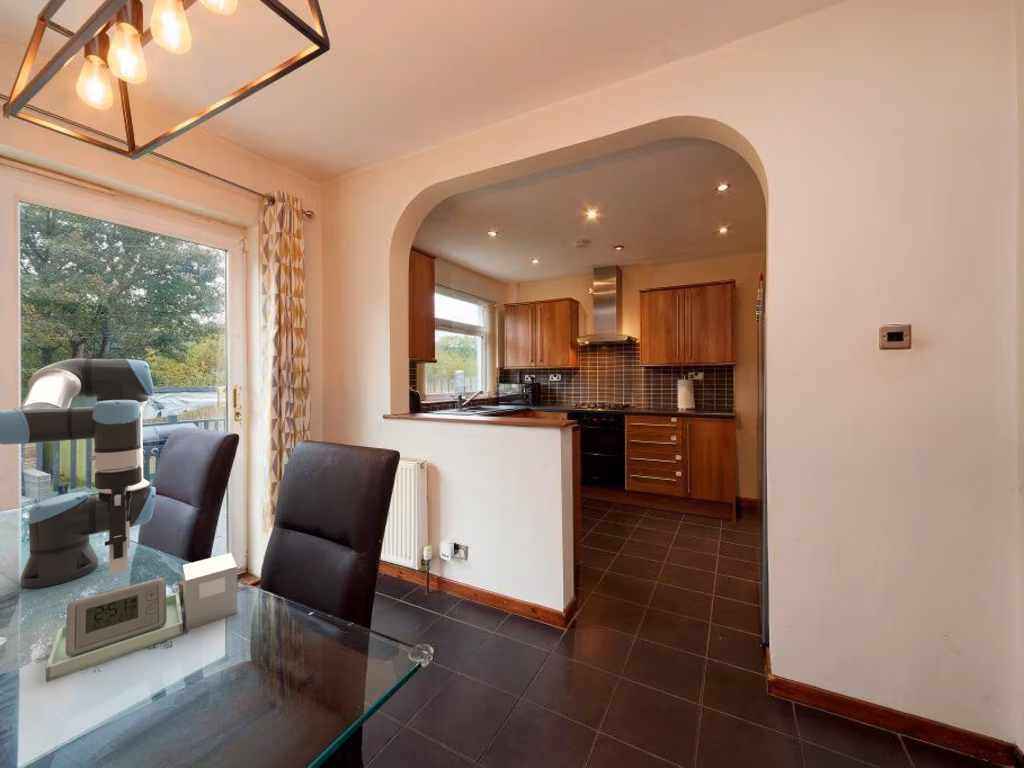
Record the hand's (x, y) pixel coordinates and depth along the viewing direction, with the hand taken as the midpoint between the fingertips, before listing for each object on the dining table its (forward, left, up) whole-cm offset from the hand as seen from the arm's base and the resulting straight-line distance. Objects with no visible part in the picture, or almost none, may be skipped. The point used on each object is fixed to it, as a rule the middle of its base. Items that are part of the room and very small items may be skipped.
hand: (120, 560), depth 89 cm
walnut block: (-8, +14, -18) cm, 24 cm away
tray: (0, 0, -18) cm, 18 cm away
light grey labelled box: (+2, +16, -18) cm, 24 cm away
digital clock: (+1, 0, -18) cm, 18 cm away
